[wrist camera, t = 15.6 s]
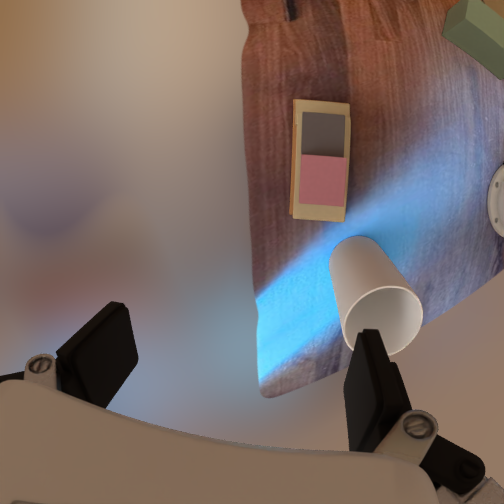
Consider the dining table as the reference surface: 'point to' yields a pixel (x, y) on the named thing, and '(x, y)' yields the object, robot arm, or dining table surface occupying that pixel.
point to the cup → (373, 294)
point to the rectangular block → (477, 33)
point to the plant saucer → (496, 6)
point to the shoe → (295, 207)
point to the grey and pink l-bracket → (322, 159)
